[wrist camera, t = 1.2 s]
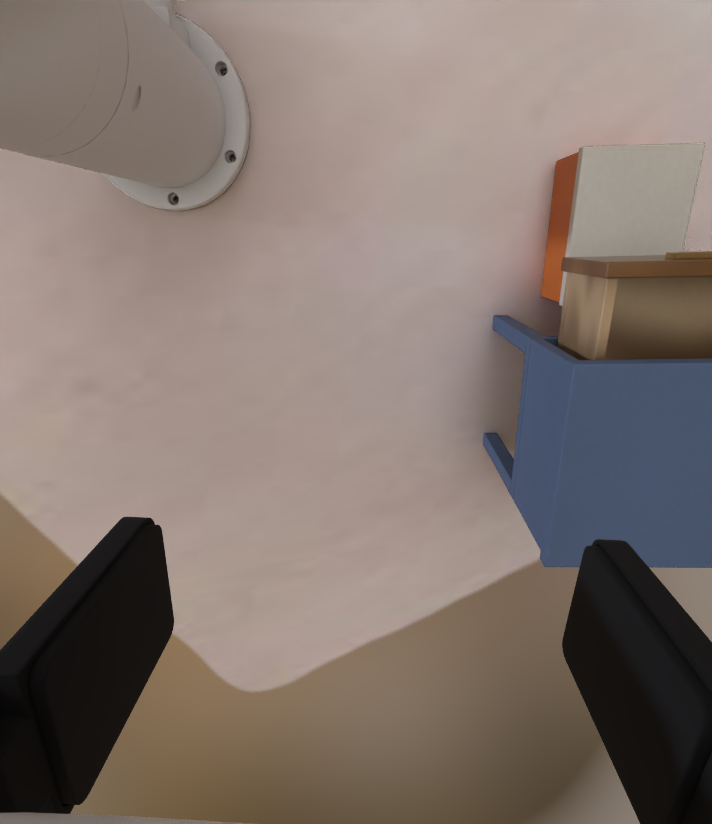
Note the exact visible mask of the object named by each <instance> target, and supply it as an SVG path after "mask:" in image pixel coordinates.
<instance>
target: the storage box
mask: <svg viewBox="0 0 712 824" xmlns="http://www.w3.org/2000/svg"><path fill="white" fill-rule="evenodd" d="M704 147H705V143H680V144H647V145H613V146H584V147H581V148H580V149H579V152H578V153H575V154H573V155H570V156H568V157H566V158H563V159H561V160H558V161H557V162H556V170H555V179H554V188H553V196H552V205H551V214H550V222H549V231H548V240H547V248H546V257H545V266H544V274H543V283H542V292H541V296H542V297H545V298H548V299H551V300H554V301H557V302H559V305H560V306H563V299H564V291H565V283H566V276H567V272H564V271H561V264H562V258H563V257H599V256H646V255H666V253H667V252H682V251H683V246H684V241H685V236H686V232H687V227H688V222H689V218H690V213H691V208H692V204H693V199H694V194H695V189H696V185H697V180H698V175H699V171H700V166H701V161H702V157H703V152H704Z"/></svg>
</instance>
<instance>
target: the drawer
mask: <svg viewBox="0 0 712 824" xmlns="http://www.w3.org/2000/svg"><path fill="white" fill-rule="evenodd" d="M561 271H564V272H567V276H566V283H565V291H564V299H563V306H562V314H561V321H560V329H559V336H558V344H557V347H558V348H559V349H561V350H563V351H564V352H566V353H568V354H570V355H571V356H573V357H575V358H576V359H578V360H636V359H712V251H708V252H667V253H666V255H646V256H599V257H563V258H562V264H561Z"/></svg>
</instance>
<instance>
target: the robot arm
mask: <svg viewBox="0 0 712 824" xmlns="http://www.w3.org/2000/svg"><path fill="white" fill-rule="evenodd" d="M223 69H227V73H226V74H225V75H224V76H223V75H222V70H223ZM249 138H250V114H249V108H248V102H247V97H246V94H245V91H244V88H243V85H242V82H241V79H240V77H239V75H238V73H237V72H236V70H235V68H234V66H233V64H232V62H231V61H230V59H229V58H228V57H227V55H226V54H225V52H224V51H223V50H222V48H221V47H220V46H219V45H218V44H217V43H216V42H215V41H214V40H213V39H212V37H211V36H210V35H209V34H207V33H206V32H205V31H204V30H202V29H201V28H200V27H198V26H197V25H196V24H194V23H193V22H191V21H189V20H187V19H185V18H183V17H181V16H179V15H177V14H175V10H174V3H173V1H172V0H0V148H2V149H6V150H10V151H15V152H19V153H22V154H25V155H29V156H34V157H38V158H42V159H46V160H50V161H54V162H58V163H62V164H66V165H71V166H75V167H79V168H83V169H87V170H91V171H95V172H99V173H103V174H104V175H105V176H106V177H107V178H108V179H109V180H110V181H111V182H112V184H114V185H115V186H116V187H117V188H118V189H120V190H121V191H122V192H123V193H125V194H126V195H127V196H129V197H131V198H133V199H135V200H136V201H138V202H140V203H142V204H145V205H148V206H151V207H154V208H158V209H164V210H179V211H184V210H189V209H194V208H198V207H201V206H203V205H205V204H208V203H210V202H212V201H213V200H215V199H216V198H217V197H219V196H220V195H222V194H223V193H224V192H225V191H226V190H227V189H228V187H229V186H230V185H231V184H232V183H233V182H234V180H235V178H236V177H237V175H238V173H239V172H240V170H241V168H242V165H243V162H244V160H245V157H246V154H247V150H248V144H249ZM232 155H235V157H236V160H235V161H234V162H232V161H231V156H232ZM176 196H178V197H179V202H178V203H176V201H175V198H176ZM173 626H174V616H173V609H172V601H171V594H170V587H169V579H168V572H167V565H166V557H165V550H164V542H163V535H162V529H161V527H160V526H159V525H155V524H154V521H153V520H152V519H151V518H141V517H123V518H122V519H121V520H120V521H119V522H118V523H117V524H116V525H115V526H114V527H113V528H112V529H111V530H110V531H109V533H108V534H107V535H106V536H105V537H104V538H103V539H102V540H101V541H100V542H99V543H98V545H97V546H96V547H95V548H94V549H93V550H92V551H91V552H90V553H89V554H88V555H87V556H86V558H85V559H84V560H83V561H82V562H81V563H80V564H79V565H78V566H77V567H76V569H75V570H74V571H73V572H72V573H71V574H70V575H69V576H68V577H67V578H66V579H65V580H64V581H63V583H62V584H61V585H60V586H59V587H58V588H57V589H56V590H55V591H54V592H53V593H52V595H51V596H50V597H49V598H48V599H47V600H46V601H45V602H44V603H43V604H42V606H41V607H40V608H39V609H38V610H37V611H36V612H35V613H34V614H33V615H32V616H31V617H30V618H29V620H28V621H27V622H26V623H25V624H24V625H23V626H22V627H21V628H20V629H19V630H18V632H17V633H16V634H15V635H14V636H13V637H12V638H11V639H10V640H9V641H8V642H7V643H6V645H5V646H4V647H3V648H2V649H1V650H0V824H249V823H231V822H215V821H197V820H181V819H164V818H147V817H129V816H108V815H81V814H70V812H71V810H72V809H73V807H74V805H80V804H81V803H83V801H84V800H85V799H86V798H87V796H88V794H89V793H90V791H91V789H92V787H93V785H94V783H95V781H96V779H97V777H98V775H99V773H100V771H101V769H102V768H103V766H104V764H105V762H106V760H107V758H108V756H109V754H110V752H111V750H112V748H113V746H114V744H115V742H116V740H117V739H118V737H119V735H120V733H121V731H122V729H123V727H124V725H125V723H126V721H127V719H128V717H129V716H130V714H131V712H132V709H133V708H134V706H135V704H136V702H137V700H138V698H139V696H140V694H141V692H142V690H143V689H144V687H145V685H146V683H147V681H148V678H149V677H150V675H151V673H152V671H153V669H154V668H155V665H156V664H157V662H158V660H159V658H160V656H161V654H162V652H163V650H164V648H165V646H166V644H167V642H168V641H169V639H170V636H171V634H172V631H173ZM562 647H563V653H564V657H565V660H566V662H567V664H568V666H569V668H570V671H571V673H572V675H573V677H574V679H575V682H576V684H577V686H578V688H579V690H580V693H581V695H582V697H583V699H584V701H585V703H586V706H587V708H588V710H589V712H590V714H591V717H592V719H593V721H594V723H595V725H596V727H597V730H598V732H599V734H600V736H601V739H602V741H603V743H604V745H605V747H606V749H607V752H608V754H609V756H610V758H611V760H612V762H613V765H614V767H615V769H616V771H617V774H618V776H619V778H620V780H621V782H622V785H623V787H624V789H625V791H626V793H627V796H628V798H629V800H630V802H631V804H632V807H633V809H634V811H635V813H636V815H637V818H638V820H639V822H640V824H712V642H711V641H710V640H709V639H708V637H707V636H706V635H705V634H704V633H703V631H702V630H701V629H700V628H699V627H698V625H697V624H696V623H695V622H694V621H693V620H692V618H691V617H690V616H689V615H688V614H687V613H686V612H685V610H684V609H683V608H682V606H681V605H680V604H679V603H678V602H677V601H676V599H675V598H674V597H673V596H672V595H671V593H670V592H669V591H668V590H667V589H666V587H665V586H664V585H663V584H662V583H661V581H660V580H659V579H658V578H657V577H656V576H655V574H654V573H653V572H652V571H651V570H650V568H649V567H648V566H647V565H646V564H645V562H644V561H643V560H642V559H641V558H640V557H639V555H638V554H637V553H636V552H635V551H634V549H633V548H632V547H631V546H630V545H629V544H628V543H627V542H626V541H623V540H604V539H597V540H595V541H594V542H593V543H592V546H586V547H585V549H584V552H583V556H582V560H581V565H580V569H579V573H578V577H577V581H576V586H575V590H574V594H573V598H572V603H571V607H570V611H569V615H568V620H567V624H566V628H565V632H564V636H563V643H562Z"/></svg>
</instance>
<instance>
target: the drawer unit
mask: <svg viewBox="0 0 712 824" xmlns="http://www.w3.org/2000/svg"><path fill="white" fill-rule="evenodd" d="M493 330H494V331H496V332H497V333H498V334H500V335H501V336H502V337H504V338H505V339H507V340H508V341H509V342H511V343H512V344H513V345H515V346H516V347H517V348H519V349H520V350H521V351H523V352H524V353H525V362H524V371H523V380H522V389H521V398H520V408H519V417H518V426H517V435H516V445H515V454H514V459H513V457H512V456H511V454H510V453H509V451H508V449H507V448H506V446H505V445H504V443H503V442H502V440H501V439H500V437H499V435H498V434H497V433H484V441H483V445H484V447H485V449H486V451H487V452H488V454H489V456H490V458H491V460H492V462H493V463H494V465H495V467H496V469H497V471H498V473H499V475H500V476H501V478H502V480H503V482H504V484H505V486H506V487H507V489H508V491H509V493H510V495H511V497H512V498H513V500H514V502H515V504H516V506H517V507H518V509H519V511H520V513H521V515H522V517H523V518H524V520H525V522H526V524H527V526H528V528H529V530H530V531H531V533H532V535H533V537H534V539H535V541H536V542H537V544H538V546H539V548H540V550H541V553H540V559H541V561H542V563H543V565H544V567H580V565H581V560H582V556H583V552H584V549H585V547H586V546H592V543H593V542H594V541H595V540H597V539H604V540H623V541H626V542H627V543H628V544H629V545H630V546H631V547H632V548H633V549H634V551H635V552H636V553H637V554H638V555H639V557H640V558H641V559H642V560H643V561H644V562H645V564H646V565H647V566H648V567H666V568H667V567H669V568H670V567H673V568H675V567H677V568H689V567H690V568H712V359H636V360H578V359H576V358H575V357H573V356H571V355H570V354H568V353H566V352H564V351H563V350H561V349H559V348H558V347H557V344H558V336H543V335H542V334H540V333H538V332H536V331H534V330H533V329H531V328H529V327H527V326H526V325H524V324H522V323H520V322H519V321H517V320H515V319H513V318H511V317H510V316H508V315H495V316H494V319H493Z"/></svg>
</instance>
